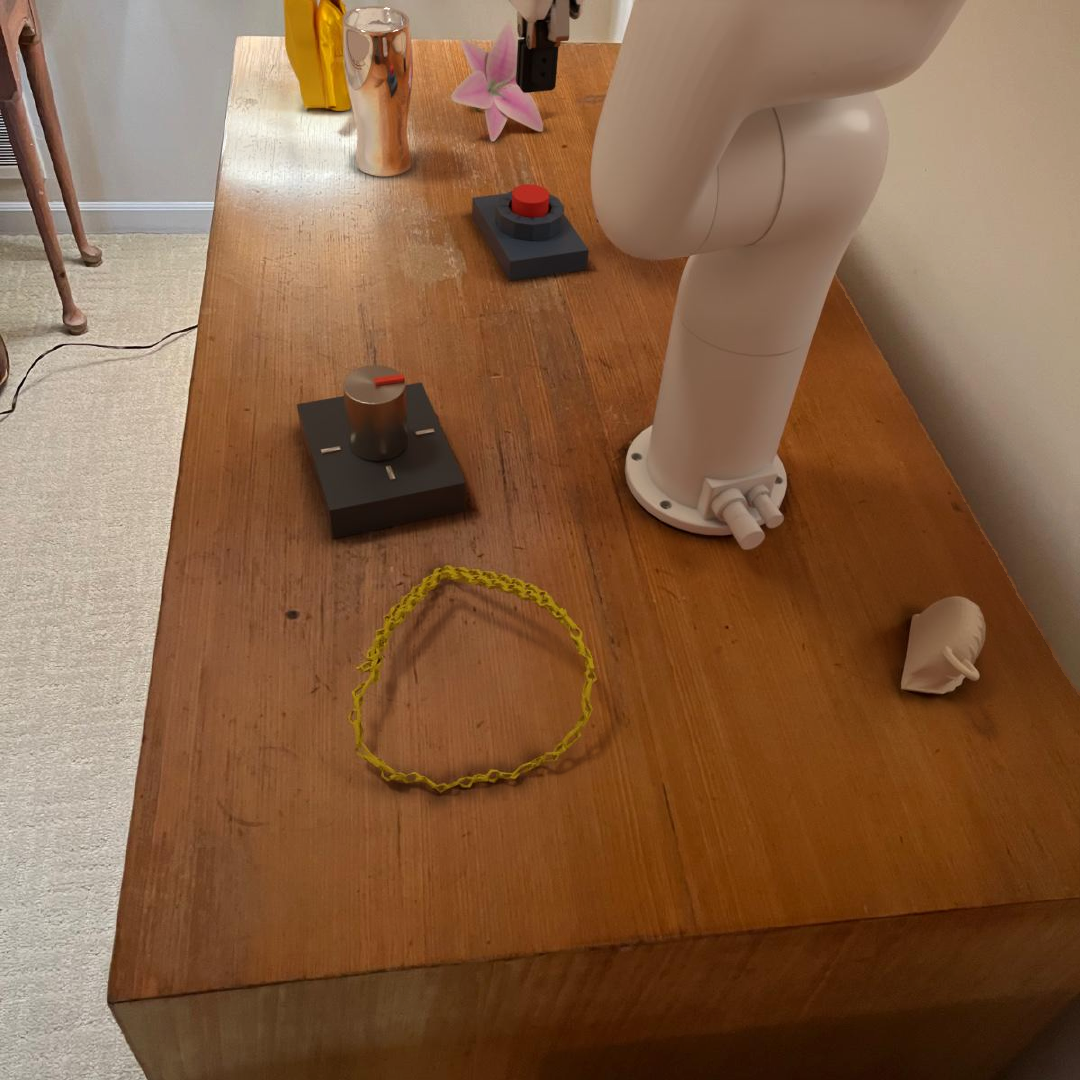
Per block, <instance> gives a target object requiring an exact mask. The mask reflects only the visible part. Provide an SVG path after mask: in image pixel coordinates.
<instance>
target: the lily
mask: <svg viewBox="0 0 1080 1080" xmlns="http://www.w3.org/2000/svg"><path fill="white" fill-rule="evenodd" d="M459 40H460V41H459V43H460V46H461V48H462V52H463V54H464V56H465V58H466V61H467V63H468V65H469V67H470V69H471V73H470V74H469V75H468V76H467V77H466V78H465V79H464V80H463V81H462V82H461V83H459V85H458V86H457V87H456V88H455V89H454V90H453V92H452V94H451V96H450V100H452V101H453V102H454V103H457V104H459V105H464V106H468V107H473V108H475V109H474V110H475V111H476V112H478V110H479V109H483V110H484V115H485V121H486V127H487V130H488V135H489V140H490V141H491V142H492V143H493V142H495V141H496V140H497V139H498V137H499V136H500V134H501V133H502V131H503V129H504V127H505V125H506V123H507V122H508V121H507V120H508V118H509V119H512V120H513V121H515V122H518V123H520V124H521V125H524V126H526V127H528V128H530V129H531V130H533V131H535V132H540V133H541V132H543V131H544V124H543V121H542V117H541V113H540V111H539V109H538V106H537V104H536V102H535V100H534V98H533V96H532V95H531V92H530V93H524V92H522V90H521V89H520V87H519V86H518V85H517V83H516V69H517V49H518V34H517V32H516V28H515V26H514V24H513V22H512V21H511V20H507V21H506V22H505V24H504V25H503V26H502V28H501V30H500V31H499V33H498V35H497V37H495V40H494V41H493V43H492V45H491V47H490V50H489V51H486V50H485V49H483V48H482V47H480V46H478V45H477V44H475V43H473V42H470V41H468V40H465V39H459Z"/></svg>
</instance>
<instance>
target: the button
mask: <svg viewBox="0 0 1080 1080" xmlns="http://www.w3.org/2000/svg"><path fill="white" fill-rule="evenodd" d="M546 189H547V188H545V187H544V186H541V185H538V184H533V183H531V184H530V183H524V184H520V185H518V186H516V187H514V188H513V190H511V191H512V212H513V213H515V214H517V215H519V216H521V217H528V218H536V217H543V216H545V215H547V213H548V209H549V193H550V191H549V190H548V189H547V190H546Z"/></svg>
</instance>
